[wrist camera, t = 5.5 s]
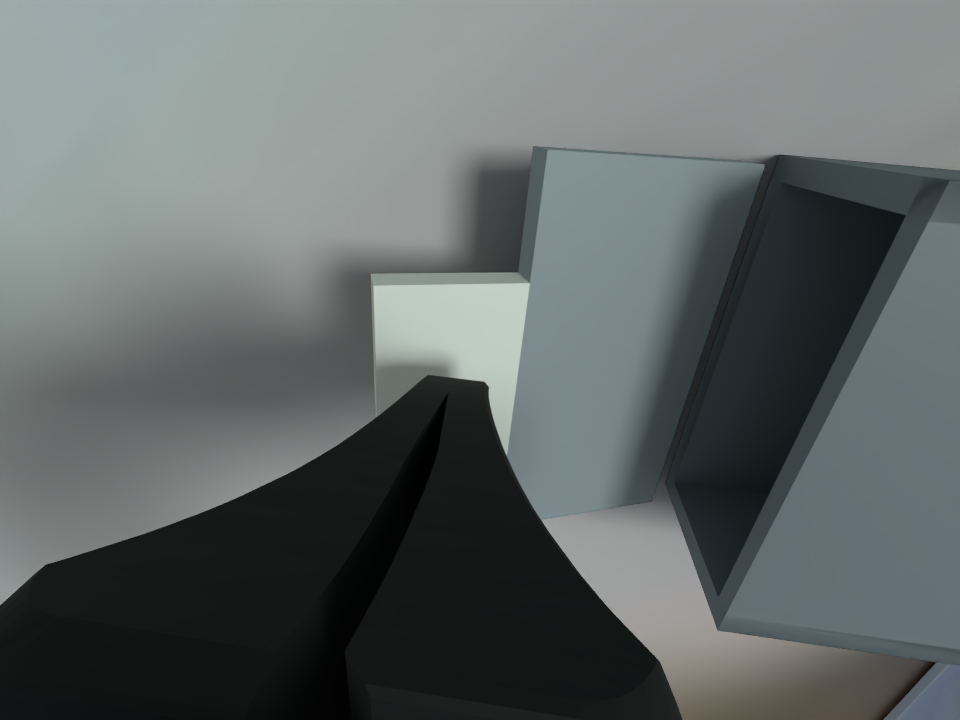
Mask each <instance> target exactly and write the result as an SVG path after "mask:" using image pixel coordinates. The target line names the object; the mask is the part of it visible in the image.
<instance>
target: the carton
mask: <svg viewBox="0 0 960 720" xmlns="http://www.w3.org/2000/svg"><path fill="white" fill-rule="evenodd" d="M665 484H666V487H667V490H668V492H669V495H670V498H671V501H672V504H673V506H674V509H675V512H676V515H677V518H678V521H679V523H680V526H681V529H682V532H683V535H684V537H685V540H686V543H687V546H688V549H689V551H690V554H691V557H692V560H693V563H694V565H695V568H696V571H697V574H698V577H699V579H700V582H701V585H702V588H703V591H704V593H705V596H706V599H707V602H708V605H709V607H710V610H711V613H712V616H713V619H714V621H715V624H716V627H717V630H719V631H726V632H732V633H739V634H746V635H753V636H760V637H767V638H774V639H780V640H787V641H794V642H801V643H808V644H815V645H821V646H828V647H835V648H842V649H849V650H856V651H862V652H869V653H876V654H883V655H890V656H897V657H904V658H910V659H917V660H924V661H931V662H938V663H945V664H951V665H958V666H960V171H957V170H946V169H935V168H924V167H913V166H901V165H890V164H879V163H868V162H857V161H846V160H835V159H824V158H812V157H801V156H790V155H779V157H778V160H777V163H776V166H775V169H774V172H773V175H772V177H771V180H770V183H769V186H768V189H767V192H766V195H765V198H764V201H763V203H762V206H761V209H760V212H759V215H758V218H757V221H756V224H755V226H754V229H753V232H752V235H751V238H750V241H749V244H748V247H747V250H746V252H745V255H744V258H743V261H742V264H741V267H740V270H739V273H738V275H737V278H736V281H735V284H734V287H733V290H732V293H731V296H730V299H729V301H728V304H727V307H726V310H725V313H724V316H723V319H722V322H721V324H720V327H719V330H718V333H717V336H716V339H715V342H714V345H713V348H712V350H711V353H710V356H709V359H708V362H707V365H706V368H705V371H704V373H703V376H702V379H701V382H700V385H699V388H698V391H697V394H696V397H695V399H694V402H693V405H692V408H691V411H690V414H689V417H688V420H687V422H686V425H685V428H684V431H683V434H682V437H681V440H680V443H679V446H678V448H677V451H676V454H675V457H674V460H673V463H672V466H671V469H670V471H669V474H668V477H667V480H666V483H665Z"/></svg>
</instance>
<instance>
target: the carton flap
mask: <svg viewBox="0 0 960 720" xmlns="http://www.w3.org/2000/svg"><path fill="white" fill-rule="evenodd" d="M764 167H765V164H759V163H752V162H746V161H738V160H724V159H709V158H695V157H681V156H666V155H652V154H638V153H624V152H609V151H595V150H581V149H566V148H552V147H538V146H533V152H532V161H531V169H530V177H529V186H528V194H527V203H526V211H525V219H524V228H523V236H522V244H521V253H520V261H519V270H518V272H498V273H389V274H371V299H372V329H373V360H374V390H375V418H376V417H377V416H379V415H380V414H381V413H382V412H384V411H385V410H386V409H388V408H389V407H390V406H391V405H393V404H394V403H395V402H396V401H397V400H398V399H400V398H401V397H402V396H403V395H404V394H406V393H407V392H408V391H409V390H410V389H411V388H412V387H414V386H415V385H416V384H417V383H418V382H419V381H421V380H422V379H423V378H424V377H426V376H427V375H434V376H442V377H450V378H459V379H467V380H475V381H483V382H485V383H486V384H487V385H488V386H489V402H490V407H491V411H492V416H493V419H494V423H495V426H496V429H497V432H498V435H499V437H500V440H501V443H502V446H503V448H504V451H505V453H506V456H507V458H508V460H509V462H510V465H511V467H512V469H513V471H514V473H515V475H516V477H517V479H518V481H519V483H520V485H521V487H522V489H523V491H524V493H525V494H526V496H527V498H528V500H529V501H530V503H531V505H532V507H533V508H534V510H535V511H536V513H537V515H538V516H539V518H540V519H541V520H542V519H548V518H554V517H560V516H566V515H572V514H578V513H584V512H590V511H596V510H603V509H609V508H615V507H621V506H627V505H633V504H639V503H645V502H651V501H652V499H653V496H654V493H655V490H656V487H657V484H658V481H659V479H660V476H661V473H662V470H663V467H664V464H665V461H666V458H667V455H668V452H669V449H670V446H671V443H672V440H673V437H674V434H675V431H676V428H677V425H678V422H679V419H680V416H681V413H682V410H683V407H684V404H685V401H686V398H687V395H688V392H689V389H690V387H691V384H692V381H693V378H694V375H695V372H696V369H697V366H698V363H699V360H700V357H701V354H702V351H703V348H704V345H705V342H706V339H707V336H708V333H709V330H710V327H711V324H712V321H713V318H714V315H715V312H716V309H717V306H718V303H719V300H720V298H721V295H722V292H723V289H724V286H725V283H726V280H727V277H728V274H729V271H730V268H731V265H732V262H733V259H734V256H735V253H736V250H737V247H738V244H739V241H740V238H741V235H742V232H743V229H744V226H745V223H746V220H747V217H748V214H749V211H750V209H751V206H752V203H753V200H754V197H755V194H756V191H757V188H758V185H759V182H760V179H761V176H762V173H763V170H764Z"/></svg>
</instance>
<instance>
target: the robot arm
mask: <svg viewBox="0 0 960 720" xmlns="http://www.w3.org/2000/svg"><path fill="white" fill-rule="evenodd" d="M0 720H682V717H681V714H680V712H679V709H678V706H677V703H676V701H675V698H674V696H673V693H672V691H671V688H670V686H669V683H668V681H667V678H666V676H665V673H664V671H663V668H662V666H661V664H660V662H659V661H658V659H657V658H656V657H655V656H654V655H653V654H652V653H651V652H650V651H649V650H648V649H647V648H646V647H645V646H644V645H643V644H642V643H641V642H640V641H639V640H638V639H637V638H636V636H635V635H634V634H633V633H632V632H631V631H630V630H629V629H628V628H627V627H626V626H625V625H624V624H623V623H622V622H621V621H620V620H619V619H618V618H617V617H616V616H615V615H614V614H613V613H612V611H611V610H610V609H609V608H608V607H607V606H606V605H605V604H604V602H603V601H602V600H601V599H600V598H599V596H598V595H597V594H596V593H595V592H594V590H593V589H592V588H591V587H590V586H589V584H588V583H587V582H586V581H585V580H584V578H583V577H582V576H581V575H580V574H579V572H578V571H577V570H576V568H575V567H574V566H573V564H572V563H571V562H570V560H569V559H568V557H567V556H566V555H565V553H564V552H563V551H562V549H561V548H560V547H559V545H558V544H557V543H556V541H555V540H554V538H553V537H552V536H551V534H550V533H549V532H548V530H547V529H546V527H545V526H544V524H543V522H542V521H541V519H540V518H539V516H538V515H537V513H536V511H535V510H534V508H533V507H532V505H531V503H530V501H529V500H528V498H527V496H526V494H525V493H524V491H523V489H522V487H521V485H520V483H519V481H518V479H517V477H516V475H515V473H514V471H513V469H512V467H511V465H510V462H509V460H508V458H507V456H506V453H505V451H504V448H503V446H502V443H501V440H500V437H499V435H498V432H497V429H496V426H495V423H494V419H493V416H492V411H491V407H490V402H489V386H488V385H487V384H486V383H485V382H483V381H475V380H467V379H459V378H450V377H442V376H434V375H427V376H426V377H424V378H423V379H422V380H421V381H419V382H418V383H417V384H416V385H415V386H414V387H412V388H411V389H410V390H409V391H408V392H407V393H406V394H404V395H403V396H402V397H401V398H400V399H398V400H397V401H396V402H395V403H394V404H393V405H391V406H390V407H389V408H388V409H386V410H385V411H384V412H382V413H381V414H380V415H379V416H377V417H376V418H375V419H374V420H372V421H371V422H370V423H368V424H367V425H366V426H364V427H363V428H362V429H360V430H359V431H357V432H356V433H354V434H353V435H352V436H350V437H349V438H347V439H346V440H344V441H343V442H342V443H340V444H339V445H337V446H336V447H334V448H332V449H331V450H329V451H328V452H326V453H324V454H323V455H321V456H319V457H317V458H316V459H314V460H312V461H310V462H309V463H307V464H305V465H303V466H302V467H300V468H298V469H296V470H294V471H292V472H290V473H289V474H287V475H285V476H282V477H280V478H278V479H276V480H274V481H272V482H270V483H268V484H266V485H264V486H261V487H259V488H257V489H255V490H253V491H251V492H249V493H247V494H245V495H243V496H240V497H238V498H236V499H234V500H231V501H229V502H227V503H224V504H222V505H219V506H217V507H215V508H212V509H210V510H207V511H205V512H202V513H200V514H197V515H195V516H192V517H189V518H187V519H184V520H181V521H179V522H176V523H174V524H171V525H168V526H166V527H163V528H160V529H157V530H154V531H151V532H149V533H146V534H143V535H140V536H137V537H133V538H130V539H127V540H124V541H121V542H118V543H115V544H112V545H108V546H105V547H102V548H99V549H96V550H93V551H90V552H86V553H83V554H80V555H77V556H74V557H71V558H68V559H64V560H61V561H57V562H54V563H50V564H47V565H45V566H44V567H43V568H41V569H40V570H39V571H38V572H37V573H36V574H35V575H33V576H32V577H31V578H30V579H29V580H28V581H27V582H26V583H24V584H23V585H22V586H21V587H20V588H19V589H18V590H17V591H16V592H15V593H13V594H12V595H11V596H10V597H9V598H8V599H7V600H6V601H5V602H4V603H2V604H1V605H0ZM884 720H960V666H958V665H951V664H945V663H938V662H936V663H935V664H934V665H933V666H932V668H931V669H930V670H929V671H928V672H927V673H926V674H925V675H924V676H923V677H922V678H921V679H920V681H919V682H918V683H917V684H916V685H915V686H914V687H913V688H912V689H911V690H910V691H909V692H908V694H907V695H906V696H905V697H904V698H903V699H902V700H901V701H900V702H899V703H898V704H897V705H896V707H895V708H894V709H893V710H892V711H891V712H890V713H889V714H888V715H887V716H886V717H885V718H884Z"/></svg>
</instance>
